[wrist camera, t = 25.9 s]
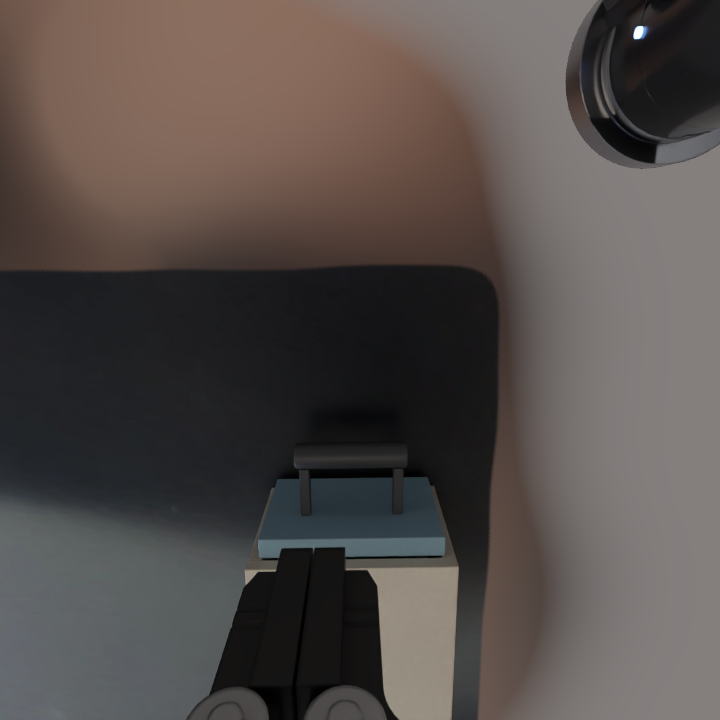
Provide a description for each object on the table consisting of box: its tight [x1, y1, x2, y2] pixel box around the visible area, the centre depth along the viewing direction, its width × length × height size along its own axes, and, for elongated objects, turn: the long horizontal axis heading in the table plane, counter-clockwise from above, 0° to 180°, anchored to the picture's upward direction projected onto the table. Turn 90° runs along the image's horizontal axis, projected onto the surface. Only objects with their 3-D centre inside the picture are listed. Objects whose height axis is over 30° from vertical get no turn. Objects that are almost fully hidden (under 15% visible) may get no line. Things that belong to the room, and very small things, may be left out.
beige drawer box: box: [245, 486, 459, 720], centre depth 32 cm, size 15×12×9 cm
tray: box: [258, 441, 445, 560], centre depth 31 cm, size 18×10×7 cm, turn 1°
